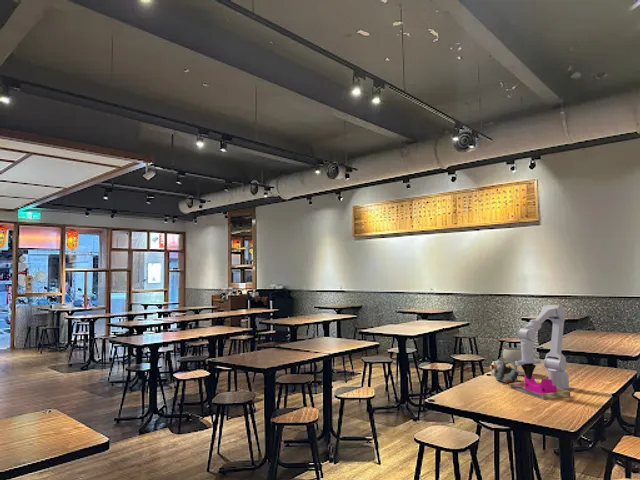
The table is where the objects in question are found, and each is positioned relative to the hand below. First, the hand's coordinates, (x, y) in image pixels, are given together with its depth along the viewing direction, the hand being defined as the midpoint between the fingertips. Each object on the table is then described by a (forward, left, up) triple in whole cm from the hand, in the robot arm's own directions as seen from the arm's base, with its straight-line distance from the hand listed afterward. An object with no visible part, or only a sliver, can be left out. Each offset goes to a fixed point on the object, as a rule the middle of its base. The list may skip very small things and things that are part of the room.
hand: (528, 378), depth 230 cm
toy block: (-7, 0, -7) cm, 10 cm away
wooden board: (-6, 0, -7) cm, 9 cm away
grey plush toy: (-5, -26, -8) cm, 27 cm away
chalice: (-25, -40, -7) cm, 48 cm away
